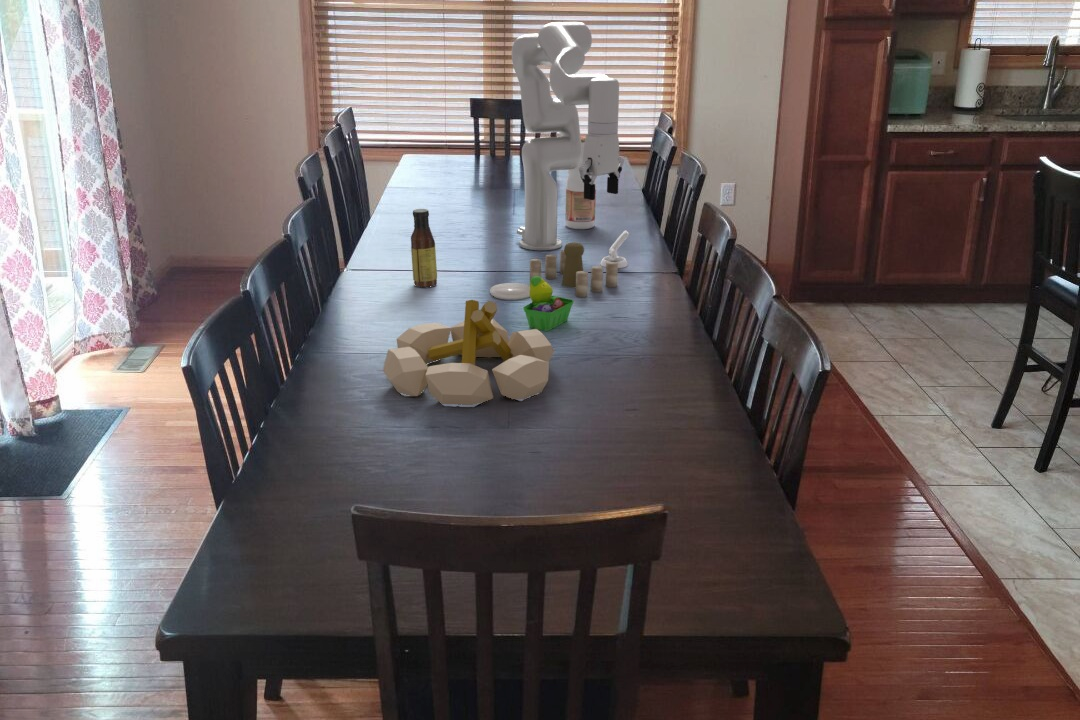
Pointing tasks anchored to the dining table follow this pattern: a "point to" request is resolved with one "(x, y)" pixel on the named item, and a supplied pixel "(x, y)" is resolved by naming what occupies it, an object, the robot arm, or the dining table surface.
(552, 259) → the posts
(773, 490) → the dining table surface
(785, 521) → the dining table surface
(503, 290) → the white round plate
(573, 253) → the cork
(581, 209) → the fruit juice
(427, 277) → the sauce bottle
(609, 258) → the white plastic lever piece
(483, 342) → the campfire
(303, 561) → the dining table surface
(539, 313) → the fruit basket
